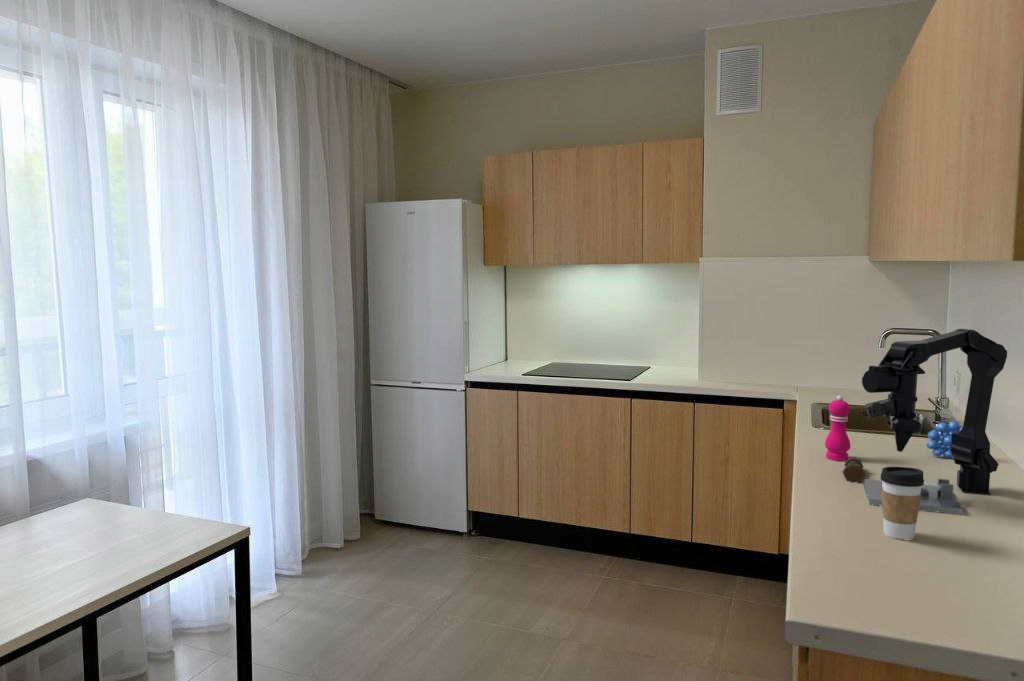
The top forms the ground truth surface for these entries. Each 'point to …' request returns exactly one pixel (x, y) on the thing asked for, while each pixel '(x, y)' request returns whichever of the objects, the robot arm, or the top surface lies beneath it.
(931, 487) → the strap
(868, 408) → the robot arm
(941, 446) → the grapes
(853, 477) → the bolt
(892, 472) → the coffee cup
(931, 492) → the base
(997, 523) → the top surface
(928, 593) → the top surface
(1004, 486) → the top surface
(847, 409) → the pepper mill
